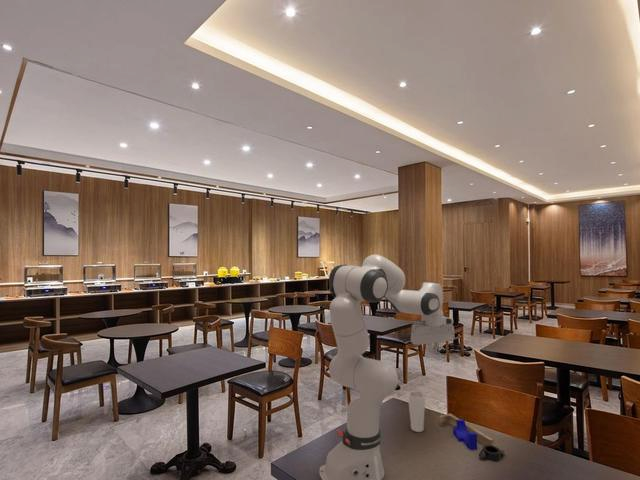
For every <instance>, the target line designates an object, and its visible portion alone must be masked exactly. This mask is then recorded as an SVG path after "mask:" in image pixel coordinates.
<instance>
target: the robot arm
mask: <svg viewBox="0 0 640 480" xmlns="http://www.w3.org/2000/svg"><path fill="white" fill-rule="evenodd" d="M405 284H406V275H405V273H404V271H403V270H402V268H401V267H399V266H398V265H397V264H395V263H394V262H393V261H392V260H390V259H388V258H386V257H384V256H383V255H381V254H376V253H375V254H370V255H368V256H367V257H366V258H365V259H364V260H363V261H362V264H361V266H359V265H348V264H339V265H336V266H334V267H333V268H332V269H331V270H330V273H329V275H328V285H329V290H330V294H331V296H332V297H333V298H334V299H332V300H331V302H330V303H329V316H330V317H329V318H330V325H331V328H332V331H333V334H334V338H335V339H334V340H335V342H336V346H337V353H336V355H334V357H333V358H332V359H331V361H330V362H329V366H328V373H329V377H330V378H331V380H332V381H334V382H336V383H337V384H339V385H341V386H343V387H346V388H350V389H354V390H357V391H358V392H359V397H358V398H356V399H353V400H351V401H350V402H349V404H348V405H347V408H346V427H345V431H343V430H342V429H337V431H336V434H337V436H338V437H339V438H342V440H340V442H339V443H337V445H336V446H334V447H333V448H332V449H331V450H330V451H329V452H328V454H327V456H326V459H325V464H323V465H320V467H319V469H318V476H319V475H320V476H319V478H320V477H321V479H322V480H383V478H384V476H385V470H384V465H383V462H382V456H381V455H382V454H381V430H380V409H381V406H382V403H383V401H384V400H385V399H386V398H388V397H389V396H390V395H392V394H393V393H394V392H395V391H396V389H397V386H398V382H399V378H398V377H399V376H398V375H399V374H398V372H397V370H396V368H395V367H394V366H393V365H391V364H389V363H386V362H385V361H382V360H379V359H373V358H369V357H365V356H363V354H364V353H365V352H367V350H368V349H369V346H370V341H371V340H370V336H369V332H368V328H367V324H366V321H365V317H364V315H363V312H362V310H361V309H362V308H361V307H362V306H361V305H362V301H363V302H366V303H378V302H380V301H382V299H383V298H384V299H386V300H387V301H388V303H389V304H390V305H391V307H392V309H393V310H394V312H396V313H398V314H411V315H416V316H417V315H418V316H421V321H414V322H413V323H412V325H411V330H410V331H411V332H410V342H411V344H413V345H415V346H420V345H426V347H427V349H428V353H429V354H432V355H433V354H438V349H439V346H440V343H442V342H443V343H444V342H450V341H453V340H454V339H455V326H454V325H453V324H454V319H453V318H451V317H447V316H444V311H443V304H444V297H443V296H444V295H443V289H442V284H441V283H439V282H435V281H434V282H433V281H424V282H422V283H421V288H420V289H419V290H411V289H410V290H409V289H404V287H405ZM321 479H320V480H321Z"/></svg>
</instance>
